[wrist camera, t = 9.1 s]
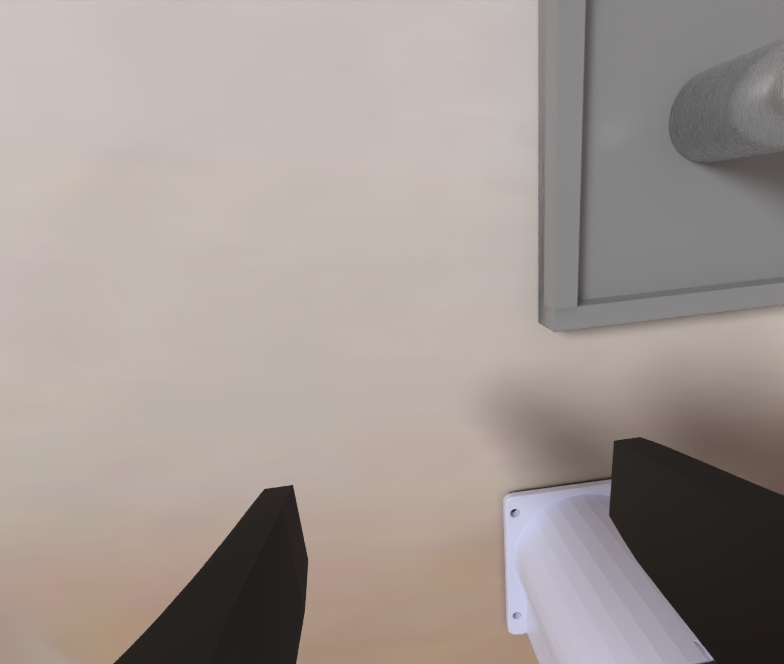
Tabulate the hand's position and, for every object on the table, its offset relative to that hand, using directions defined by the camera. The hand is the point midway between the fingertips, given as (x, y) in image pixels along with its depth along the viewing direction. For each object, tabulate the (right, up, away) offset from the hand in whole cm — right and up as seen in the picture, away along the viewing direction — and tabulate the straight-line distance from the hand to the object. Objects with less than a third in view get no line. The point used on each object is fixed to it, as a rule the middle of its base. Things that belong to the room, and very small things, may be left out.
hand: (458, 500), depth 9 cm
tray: (+12, +13, +8) cm, 19 cm away
